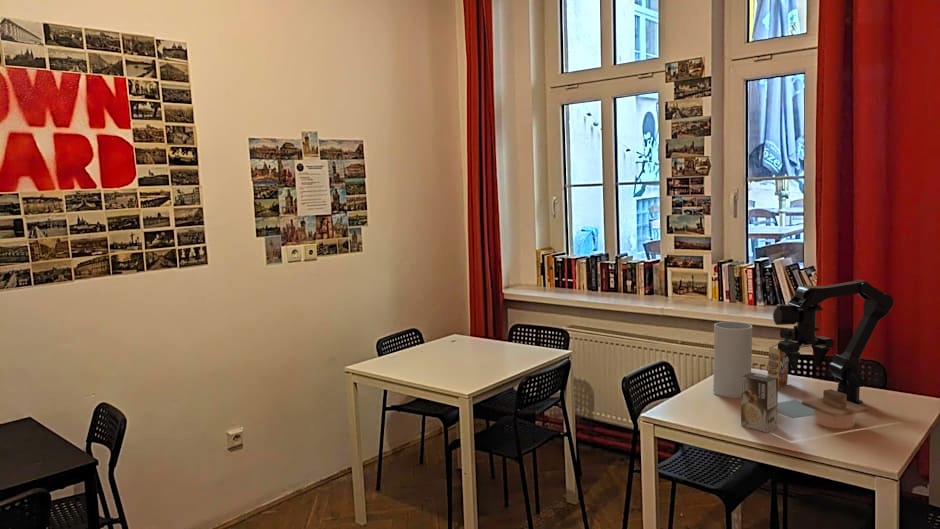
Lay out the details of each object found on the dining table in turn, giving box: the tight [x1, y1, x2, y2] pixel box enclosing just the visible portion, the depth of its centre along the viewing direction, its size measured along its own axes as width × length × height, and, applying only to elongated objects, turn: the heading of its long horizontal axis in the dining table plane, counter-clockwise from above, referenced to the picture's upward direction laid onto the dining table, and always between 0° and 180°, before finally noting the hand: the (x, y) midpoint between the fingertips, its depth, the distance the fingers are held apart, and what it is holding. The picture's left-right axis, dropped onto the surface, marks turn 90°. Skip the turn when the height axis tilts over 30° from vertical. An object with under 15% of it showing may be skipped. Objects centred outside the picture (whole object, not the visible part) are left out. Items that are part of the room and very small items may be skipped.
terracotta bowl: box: [813, 409, 856, 430], centre depth 221 cm, size 11×11×5 cm
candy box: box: [767, 343, 789, 389], centre depth 259 cm, size 9×4×15 cm, turn 134°
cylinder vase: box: [712, 321, 753, 399], centre depth 251 cm, size 12×12×25 cm
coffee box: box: [740, 372, 779, 433], centre depth 219 cm, size 9×6×16 cm
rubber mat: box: [777, 399, 814, 419], centre depth 234 cm, size 14×14×1 cm
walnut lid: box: [801, 388, 869, 417], centre depth 220 cm, size 13×13×5 cm
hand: (805, 369), depth 239 cm, fingers open, 9 cm apart
